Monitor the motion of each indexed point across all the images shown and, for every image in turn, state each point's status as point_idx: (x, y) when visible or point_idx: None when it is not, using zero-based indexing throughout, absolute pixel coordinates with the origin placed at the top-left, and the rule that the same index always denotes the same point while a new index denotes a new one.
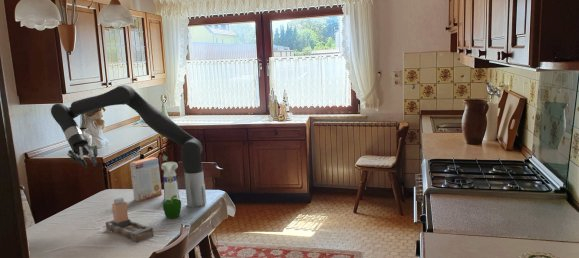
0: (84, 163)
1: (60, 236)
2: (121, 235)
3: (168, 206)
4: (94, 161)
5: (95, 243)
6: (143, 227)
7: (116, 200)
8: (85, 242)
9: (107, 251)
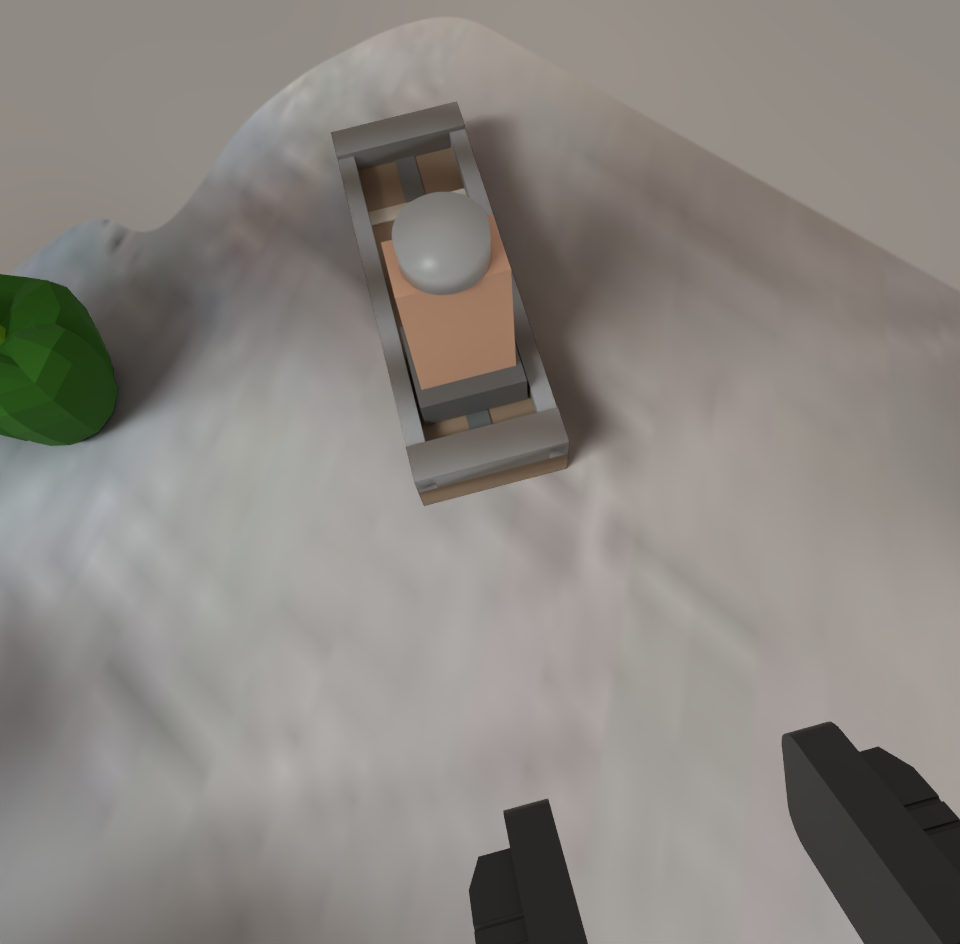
0: (893, 812)
1: (925, 568)
2: None
3: (68, 291)
4: (556, 866)
5: (684, 269)
6: (365, 203)
7: (470, 211)
8: (743, 325)
9: (638, 124)
